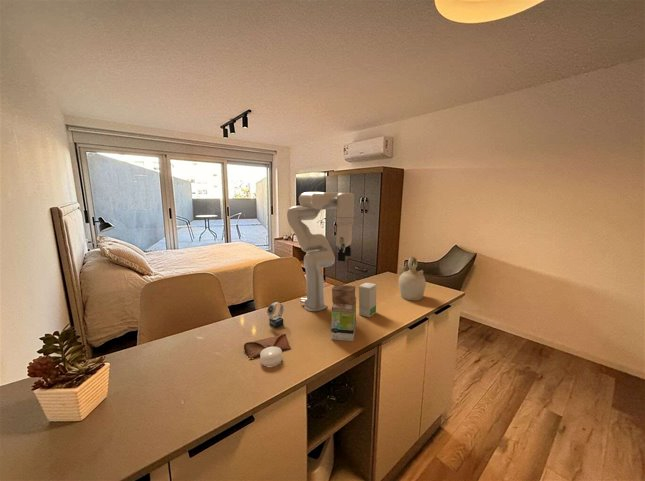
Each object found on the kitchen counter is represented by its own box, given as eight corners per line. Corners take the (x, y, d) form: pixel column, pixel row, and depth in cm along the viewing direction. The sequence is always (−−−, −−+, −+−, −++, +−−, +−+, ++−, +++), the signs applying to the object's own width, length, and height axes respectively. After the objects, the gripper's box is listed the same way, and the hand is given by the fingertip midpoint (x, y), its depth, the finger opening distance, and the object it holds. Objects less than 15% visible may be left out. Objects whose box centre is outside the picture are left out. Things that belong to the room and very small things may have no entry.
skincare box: (369, 318, 131) (369, 288, 129) (357, 314, 135) (357, 285, 133) (376, 312, 138) (377, 283, 136) (365, 309, 142) (365, 281, 139)
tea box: (354, 341, 110) (354, 308, 108) (330, 340, 112) (330, 307, 110) (356, 325, 125) (356, 295, 122) (335, 323, 126) (335, 294, 124)
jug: (392, 295, 161) (394, 255, 157) (412, 291, 168) (413, 253, 164) (410, 303, 148) (412, 261, 144) (430, 299, 154) (433, 257, 150)
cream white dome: (256, 365, 96) (255, 356, 95) (267, 353, 103) (267, 345, 103) (275, 369, 93) (275, 360, 93) (285, 356, 101) (285, 348, 100)
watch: (266, 325, 125) (264, 304, 123) (279, 320, 131) (278, 299, 129) (272, 329, 121) (271, 307, 120) (286, 323, 127) (285, 302, 125)
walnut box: (332, 302, 115) (331, 289, 114) (335, 297, 120) (335, 284, 119) (352, 304, 112) (352, 291, 111) (355, 299, 118) (355, 286, 117)
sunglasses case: (247, 361, 98) (245, 342, 100) (245, 361, 104) (243, 343, 106) (293, 348, 106) (289, 331, 108) (288, 349, 112) (285, 333, 114)
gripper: (342, 218, 125) (341, 253, 128) (330, 222, 109) (330, 262, 112) (357, 219, 122) (356, 254, 126) (348, 223, 106) (347, 264, 110)
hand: (344, 258), depth 119 cm, fingers open, 9 cm apart
